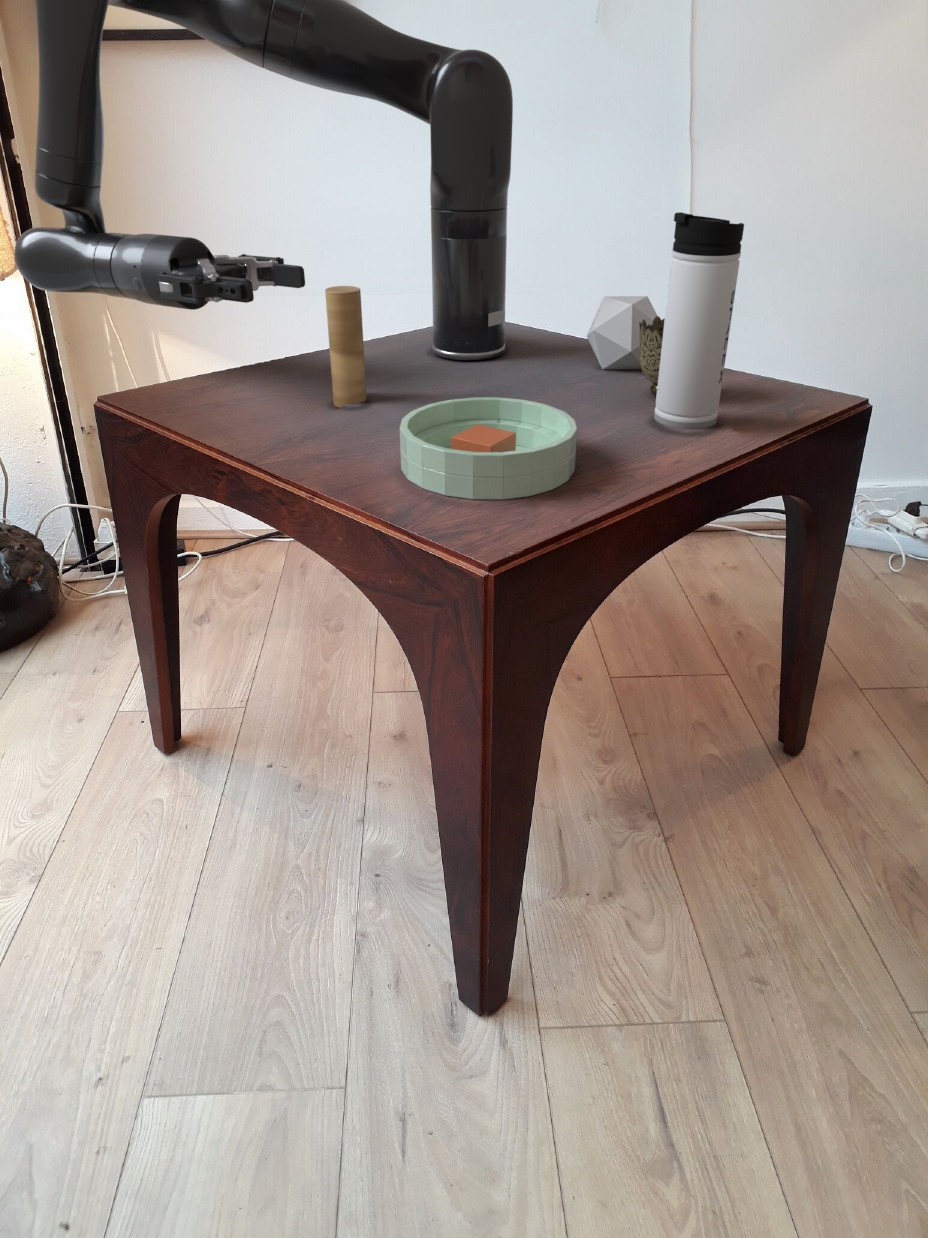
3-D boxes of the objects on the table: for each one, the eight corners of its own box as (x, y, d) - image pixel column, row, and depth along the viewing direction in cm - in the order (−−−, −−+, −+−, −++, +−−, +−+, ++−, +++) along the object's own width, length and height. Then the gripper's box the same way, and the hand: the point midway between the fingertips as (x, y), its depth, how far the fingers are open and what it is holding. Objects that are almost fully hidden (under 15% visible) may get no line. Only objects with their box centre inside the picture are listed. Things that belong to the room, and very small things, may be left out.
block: (476, 467, 81) (476, 423, 79) (515, 476, 79) (516, 432, 77) (451, 481, 78) (451, 436, 76) (490, 491, 76) (491, 446, 74)
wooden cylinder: (347, 397, 101) (339, 284, 95) (373, 402, 100) (367, 287, 93) (326, 405, 99) (317, 290, 92) (353, 410, 97) (345, 293, 91)
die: (640, 386, 107) (687, 310, 106) (576, 344, 106) (622, 268, 105) (626, 391, 116) (670, 321, 114) (567, 353, 115) (610, 282, 113)
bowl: (437, 435, 90) (436, 390, 88) (589, 453, 86) (593, 406, 84) (374, 492, 78) (371, 442, 75) (549, 516, 73) (552, 464, 71)
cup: (667, 410, 97) (676, 334, 93) (618, 394, 102) (625, 321, 98) (714, 398, 101) (725, 324, 97) (664, 382, 106) (672, 312, 102)
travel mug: (639, 418, 95) (660, 209, 84) (693, 411, 97) (720, 206, 86) (671, 437, 90) (697, 217, 79) (728, 429, 92) (760, 214, 81)
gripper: (108, 243, 95) (227, 256, 88) (203, 226, 106) (315, 236, 99) (122, 317, 99) (237, 334, 92) (212, 294, 109) (321, 307, 103)
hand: (277, 283), depth 95 cm, fingers open, 8 cm apart
